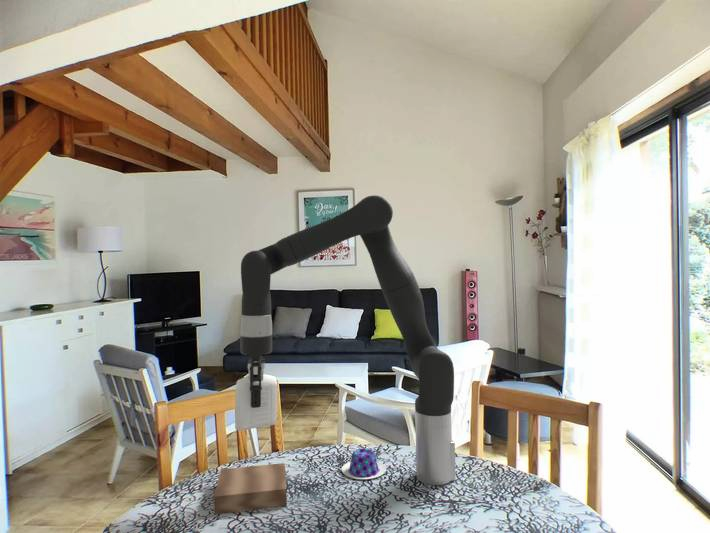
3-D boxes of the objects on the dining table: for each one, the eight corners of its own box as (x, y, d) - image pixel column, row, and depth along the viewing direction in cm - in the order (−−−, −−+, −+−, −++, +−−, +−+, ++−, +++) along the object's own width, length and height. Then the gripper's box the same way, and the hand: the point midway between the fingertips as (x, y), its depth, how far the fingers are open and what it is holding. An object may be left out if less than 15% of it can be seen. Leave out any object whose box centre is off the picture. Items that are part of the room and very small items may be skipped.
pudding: (349, 460, 128) (348, 441, 128) (390, 464, 124) (389, 445, 124) (335, 479, 116) (335, 459, 116) (380, 484, 113) (380, 463, 113)
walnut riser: (284, 478, 116) (284, 463, 116) (286, 506, 103) (286, 488, 103) (221, 485, 113) (220, 469, 113) (214, 514, 100) (214, 496, 100)
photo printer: (273, 420, 112) (273, 370, 113) (279, 424, 109) (279, 373, 109) (232, 427, 107) (232, 375, 107) (238, 433, 103) (238, 379, 104)
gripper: (272, 337, 102) (272, 411, 102) (272, 329, 116) (271, 394, 116) (238, 338, 100) (238, 413, 100) (242, 329, 114) (242, 396, 114)
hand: (256, 403), depth 108 cm, fingers closed on photo printer, 5 cm apart
